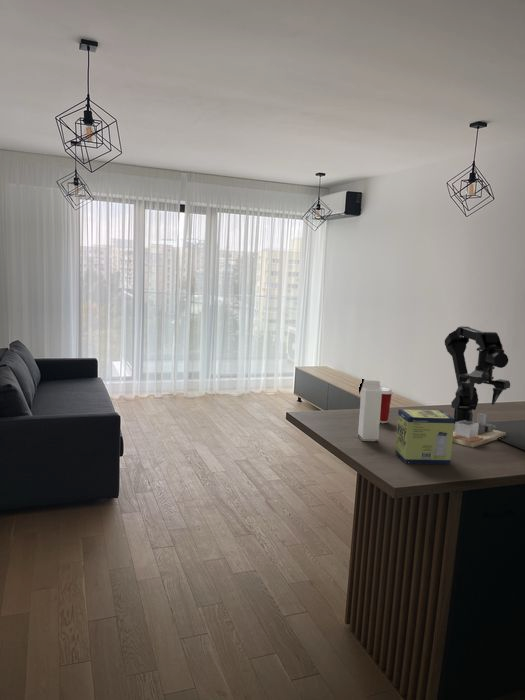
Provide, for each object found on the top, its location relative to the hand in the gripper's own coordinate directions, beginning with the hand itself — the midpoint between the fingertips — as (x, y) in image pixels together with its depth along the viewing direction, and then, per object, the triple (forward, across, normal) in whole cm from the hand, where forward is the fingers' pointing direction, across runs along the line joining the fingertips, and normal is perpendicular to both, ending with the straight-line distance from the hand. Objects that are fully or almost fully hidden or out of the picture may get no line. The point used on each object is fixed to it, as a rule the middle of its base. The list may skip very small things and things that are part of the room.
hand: (481, 402), depth 212 cm
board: (+12, +3, -10) cm, 16 cm away
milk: (+12, -18, -48) cm, 53 cm away
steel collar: (+10, +4, -18) cm, 21 cm away
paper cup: (+12, -31, -23) cm, 40 cm away
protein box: (+12, +6, -50) cm, 52 cm away
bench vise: (+10, +3, -4) cm, 12 cm away
